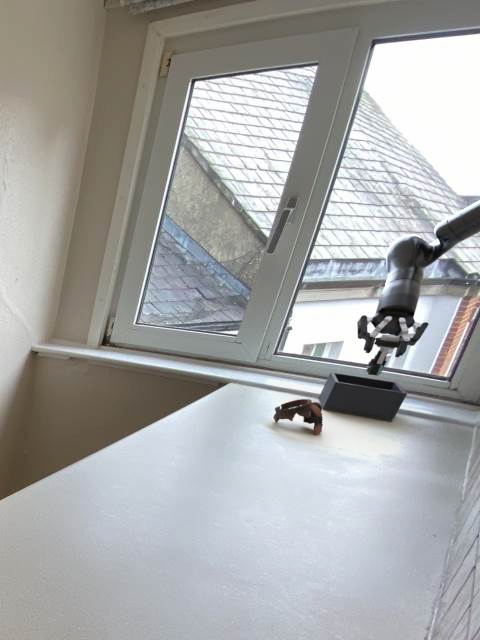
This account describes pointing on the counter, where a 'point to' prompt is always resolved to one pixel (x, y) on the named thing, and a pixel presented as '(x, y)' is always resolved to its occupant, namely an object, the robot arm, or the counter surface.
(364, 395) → the dark grey open box
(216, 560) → the counter surface
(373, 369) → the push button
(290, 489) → the counter surface
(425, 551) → the counter surface
